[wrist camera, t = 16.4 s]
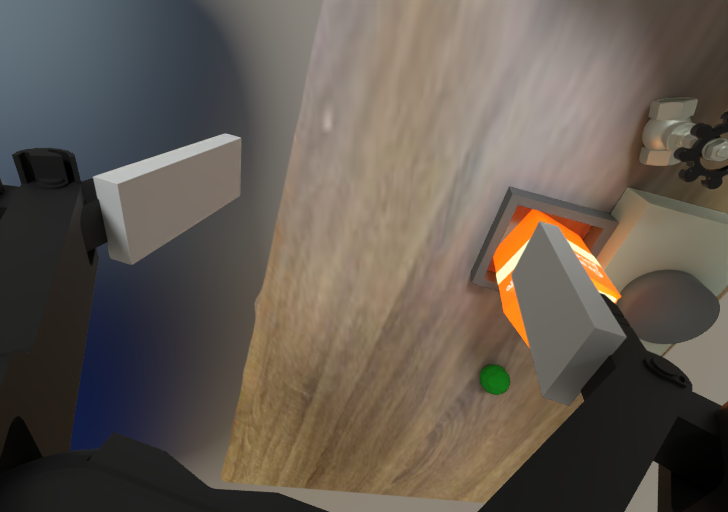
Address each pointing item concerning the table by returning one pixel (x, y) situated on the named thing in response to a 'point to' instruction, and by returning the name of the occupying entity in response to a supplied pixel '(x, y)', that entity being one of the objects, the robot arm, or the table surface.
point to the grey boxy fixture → (641, 259)
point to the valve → (684, 140)
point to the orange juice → (512, 252)
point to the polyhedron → (494, 379)
